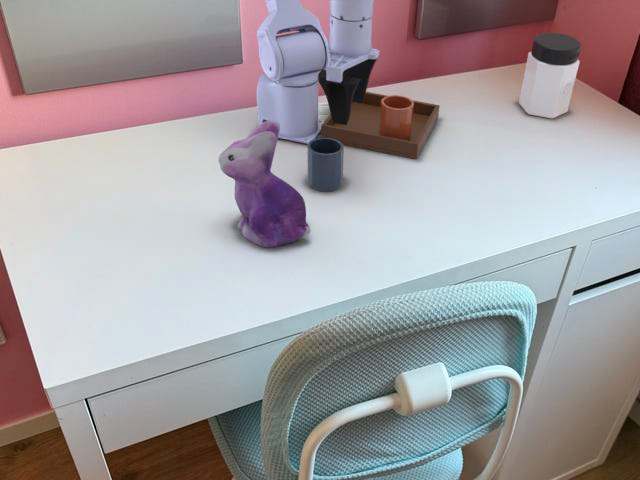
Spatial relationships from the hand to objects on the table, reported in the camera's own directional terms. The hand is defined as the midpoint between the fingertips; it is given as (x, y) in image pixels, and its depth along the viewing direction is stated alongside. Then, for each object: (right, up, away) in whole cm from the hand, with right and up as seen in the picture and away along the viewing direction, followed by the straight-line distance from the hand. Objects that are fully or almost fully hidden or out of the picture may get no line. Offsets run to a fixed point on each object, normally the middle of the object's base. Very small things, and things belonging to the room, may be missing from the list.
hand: (348, 111), depth 106 cm
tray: (+5, +3, +17) cm, 18 cm away
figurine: (-11, -19, -7) cm, 23 cm away
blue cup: (-4, -10, +3) cm, 11 cm away
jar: (+34, +10, +27) cm, 45 cm away
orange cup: (+7, +1, +14) cm, 16 cm away
